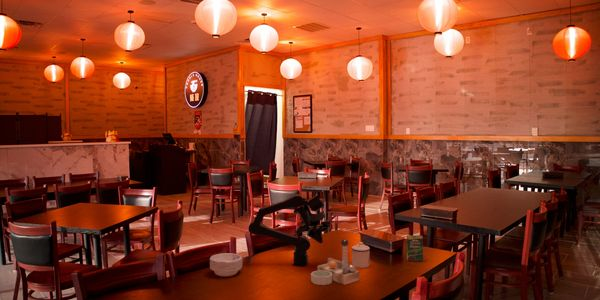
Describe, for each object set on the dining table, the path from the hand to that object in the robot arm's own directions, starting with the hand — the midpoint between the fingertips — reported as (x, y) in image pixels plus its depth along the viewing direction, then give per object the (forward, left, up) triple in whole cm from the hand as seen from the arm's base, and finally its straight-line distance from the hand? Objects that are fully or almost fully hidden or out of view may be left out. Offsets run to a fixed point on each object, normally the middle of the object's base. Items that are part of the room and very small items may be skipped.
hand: (321, 242), depth 211 cm
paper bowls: (-41, -19, -14) cm, 48 cm away
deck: (+10, -6, -14) cm, 18 cm away
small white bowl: (+5, -14, -14) cm, 20 cm away
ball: (+7, -7, -8) cm, 13 cm away
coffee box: (+40, +32, -14) cm, 53 cm away
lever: (+10, -7, -9) cm, 15 cm away
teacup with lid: (+15, +16, -14) cm, 26 cm away
